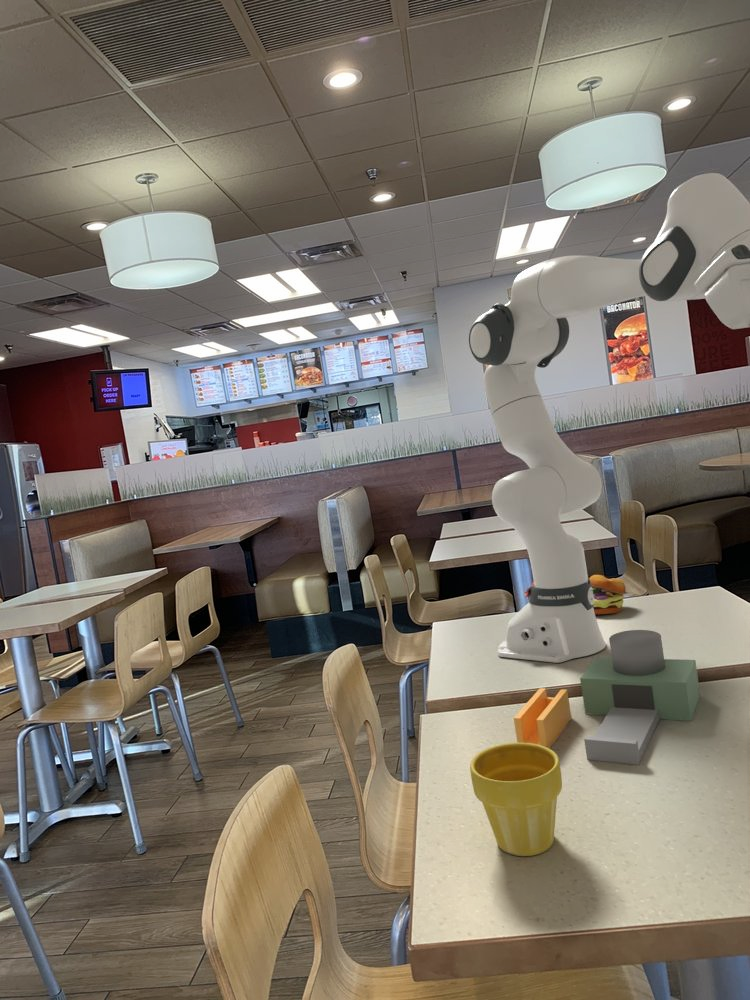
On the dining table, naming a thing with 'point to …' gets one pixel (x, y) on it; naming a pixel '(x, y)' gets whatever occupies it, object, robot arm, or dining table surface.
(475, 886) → the dining table surface
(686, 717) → the green coffee machine
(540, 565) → the robot arm
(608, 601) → the cheeseburger
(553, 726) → the chute
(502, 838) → the plant pot
